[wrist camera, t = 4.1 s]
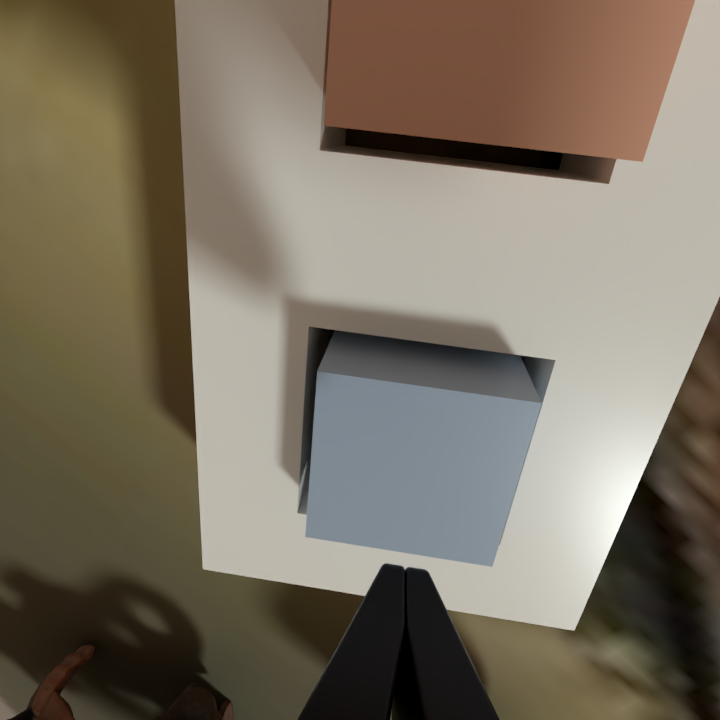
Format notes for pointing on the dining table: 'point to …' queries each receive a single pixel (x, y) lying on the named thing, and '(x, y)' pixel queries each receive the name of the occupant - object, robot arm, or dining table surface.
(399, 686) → the robot arm
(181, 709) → the pottery mug
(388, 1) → the terracotta key
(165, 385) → the dining table surface
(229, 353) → the key panel
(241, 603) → the dining table surface
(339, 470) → the blue key
